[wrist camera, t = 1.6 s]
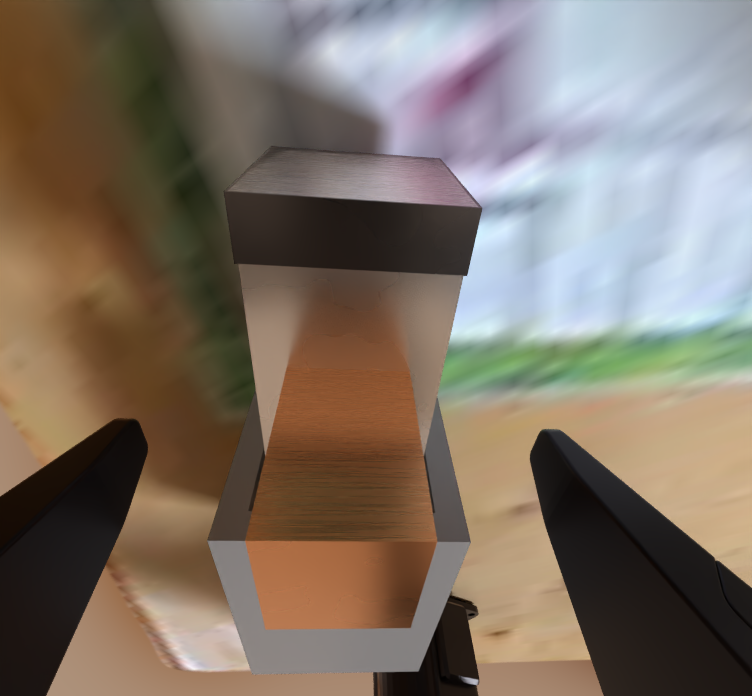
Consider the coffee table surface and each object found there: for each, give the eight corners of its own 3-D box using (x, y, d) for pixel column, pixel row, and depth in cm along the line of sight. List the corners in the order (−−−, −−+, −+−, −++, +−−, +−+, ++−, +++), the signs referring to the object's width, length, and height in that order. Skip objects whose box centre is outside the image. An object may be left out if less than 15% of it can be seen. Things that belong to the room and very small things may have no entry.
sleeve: (403, 518, 21) (418, 671, 16) (279, 517, 21) (252, 674, 16) (432, 376, 15) (470, 542, 10) (261, 370, 15) (207, 540, 10)
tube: (381, 541, 20) (391, 756, 14) (300, 540, 20) (273, 760, 14) (440, 158, 10) (587, 331, 3) (271, 146, 9) (96, 310, 3)
